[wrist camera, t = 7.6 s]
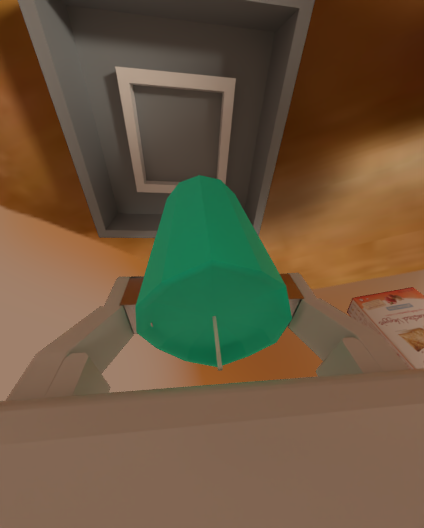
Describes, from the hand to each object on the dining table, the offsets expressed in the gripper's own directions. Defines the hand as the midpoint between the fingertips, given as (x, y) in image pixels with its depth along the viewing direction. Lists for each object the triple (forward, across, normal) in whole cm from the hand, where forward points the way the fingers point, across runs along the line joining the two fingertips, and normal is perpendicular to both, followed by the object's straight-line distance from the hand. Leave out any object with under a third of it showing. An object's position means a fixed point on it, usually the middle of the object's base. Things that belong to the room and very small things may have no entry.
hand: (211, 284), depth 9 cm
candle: (+8, 0, 0) cm, 9 cm away
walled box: (+21, +2, -4) cm, 22 cm away
